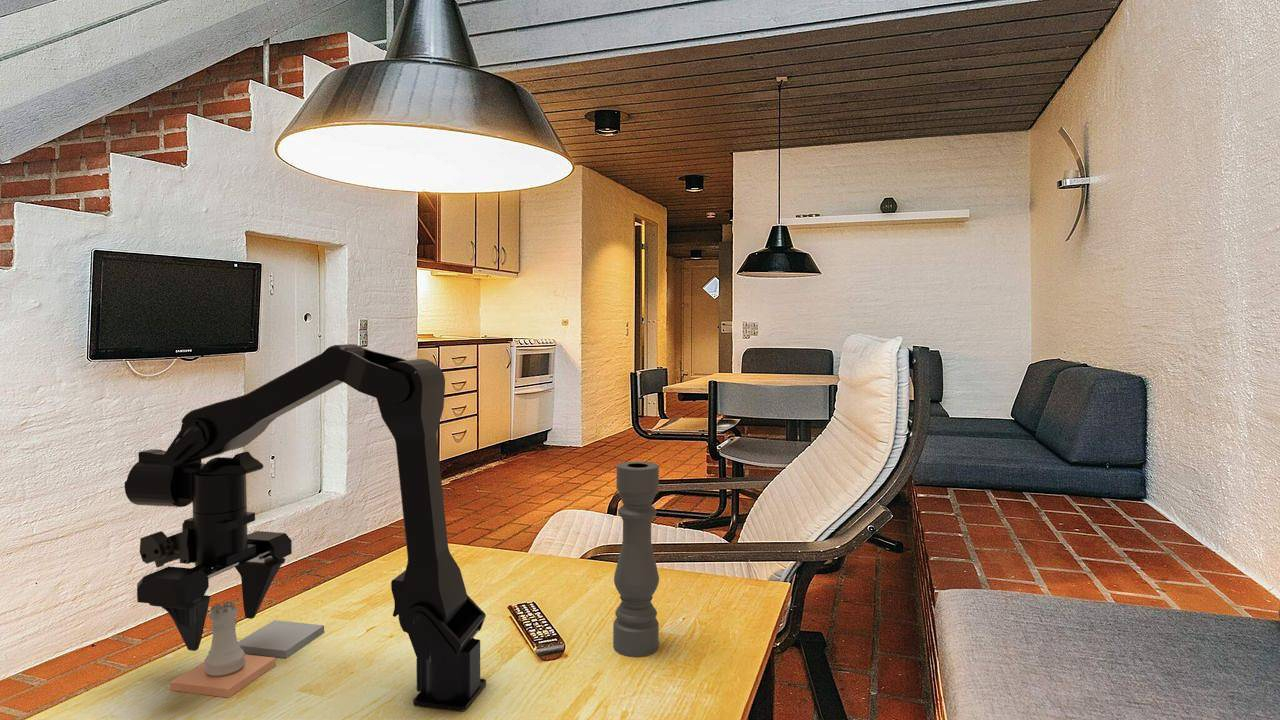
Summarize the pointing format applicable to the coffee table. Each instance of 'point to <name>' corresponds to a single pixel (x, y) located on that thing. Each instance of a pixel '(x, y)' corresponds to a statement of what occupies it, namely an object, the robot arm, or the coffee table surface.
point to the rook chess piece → (224, 642)
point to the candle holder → (636, 561)
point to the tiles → (251, 658)
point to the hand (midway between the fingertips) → (223, 633)
